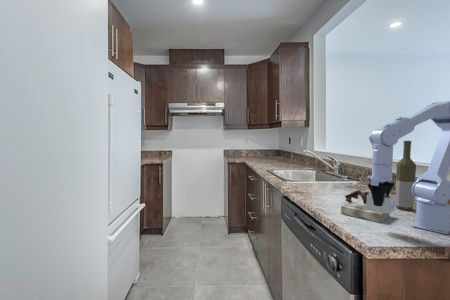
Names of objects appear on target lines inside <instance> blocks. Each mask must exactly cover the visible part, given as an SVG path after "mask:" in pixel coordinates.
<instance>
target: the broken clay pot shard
mask: <svg viewBox="0 0 450 300" xmlns="http://www.w3.org/2000/svg"><path fill="white" fill-rule="evenodd" d="M370 193H371V192H368V191H365V192H362V191H361V189H357V190H356V191H353V192H351V193H349V194H346V195H344V197H345V202H348V203H351V202H353V201H352V198H353V199H356V200H357V199H359V196H360V197H361V199H362V201H363V203H362V204H366V201H367V194H370Z"/></svg>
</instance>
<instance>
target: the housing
mask: <svg viewBox="0 0 450 300" xmlns="http://www.w3.org/2000/svg"><path fill="white" fill-rule="evenodd" d="M369 193H370V194H367V201H366V209H368V210H373V211H378V212H383V213H388V214H392V213H393V212H394V211H395V210H394V209H395V195H390V194H389V195H386V193H385V195H384V200H383V204H382V206H381V207H380V206H374V203H373V198H372V194H371V192H369Z"/></svg>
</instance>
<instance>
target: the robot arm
mask: <svg viewBox="0 0 450 300" xmlns="http://www.w3.org/2000/svg"><path fill="white" fill-rule="evenodd" d="M429 120H431V121H432V122H433V123H434V124H435V125H436V126H437V127H438V128H440V129H441V134H440V137H439V139H438V141H437V145H436V147H435V150H434V152H433V154H432V158H431V160H430V163H429V165H428V168H427V170H426V171H425V173H422V174H420V175H419V176H418V177H417V179H416V180H415V183H414V184H413V186H412V194H413V195H414V197H415V198H414V199H415V200H416V208H415V211H416V212H415V222H414V223H413V224H412V227H413V228H417V229H422V230H426V231H431V232H435V233H441V234H445V235H449V233H450V204H447V203H448V202H449V201H450V179H448V174H449V172H450V100H447V101H437V102H435V101H434V102H432V103H430V104H427V105H426V106H425V107H424V108H422V109H420V110H419V111H418V112H415V113H413V114H412V115H411V116H408V117H406V116H398V117H395V120H394V121H392V122H390V123H386V124H384V125H383V127H382V128H376V129H375V128H374V130H373V131H372V132H371V134H370V135H369V136H368V140H369V143H370V144H371V149H372V162H371V163H372V164H371V165H372V166H371V175H368V176H367V178H368V179H370V182H369V183H367V188H368V189H369V191H370V193H371V194H372V198H373V203H374V206H380V207H381V206H382V204H383V200H384V195H385V193H386V195H389V196H390V194H391V191H392V189H393V188H394V186H395V183H394V182H393V159H394V158H393V157H394V156H393V155H394V154H393V153H394V145H396V144H397V143H398V141H399V139H401V138H403V137H405V136H407V135H409V134H410V133H413V132H414V130H415V127H416V126H418V125H421V124H422V123H425V122H427V121H429Z"/></svg>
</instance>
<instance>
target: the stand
mask: <svg viewBox="0 0 450 300" xmlns="http://www.w3.org/2000/svg"><path fill="white" fill-rule="evenodd" d="M341 214H342V215H345V216H348V217H349V216H351V217H355V218H358V219H362V220H363V219H364V220H368V221H370V222H371V221H372V222H377V223H381V222H383V221H384V220H386V219H387V218H389V217H390V214H391V213H390V214H388V213H383V212H378V211H373V210H368V209H366V204H364V203H361V202H356V201H352V202H351V203H349V202H348V203H346V204H344V205H341V208H340V215H341Z"/></svg>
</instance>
